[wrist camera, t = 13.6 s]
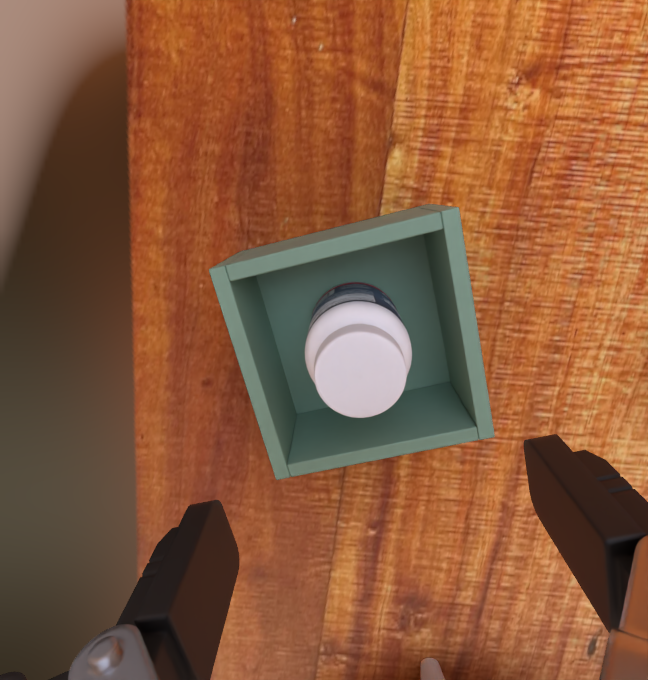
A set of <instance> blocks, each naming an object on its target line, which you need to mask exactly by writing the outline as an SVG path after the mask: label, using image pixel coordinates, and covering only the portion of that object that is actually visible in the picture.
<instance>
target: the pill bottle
mask: <svg viewBox="0 0 648 680" xmlns="http://www.w3.org/2000/svg"><path fill="white" fill-rule="evenodd" d="M305 361H306V366H307V369H308V372H309V374H310V377H311V378H312V380H313V382H314V383H315V385H316V389H317V391H318V393H319V395H320V397H321V398H322V400H323V401H324V402H325V403H326V404H327V405H328V406H329V407H330V408H331V409H333V410H334V411H336V412H338V413H340V414H342V415H345V416H349V417H355V418H365V417H371V416H374V415H378V414H380V413H382V412H384V411H386V410H387V409H389V408H390V407H391V406H392V405H394V404H395V402H396V401H397V400H398V399H399V397H400V396H401V394H402V392H403V390H404V387H405V384H406V377H407V375H408V372H409V370H410V366H411V361H412V347H411V342H410V338H409V335H408V332H407V330H406V328H405V326H404V324H403V322H402V319H401V317H400V315H399V314H398V312H397V309H396V307H395V305H394V304H393V302H392V301H391V299H390V298H389V297H388V295H387V294H386V293H384V292H383V291H382V290H381V289H379V288H378V287H376V286H374V285H371V284H368V283H364V282H346V283H342V284H339V285H337V286H335V287H333V288H331V289H330V290H328V291H327V292H326V293H325V294H324V295H323V296H322V297H321V298H320V299H319V301H318V302H317V304H316V306H315V308H314V310H313V313H312V317H311V322H310V326H309V330H308V334H307V338H306V344H305Z"/></svg>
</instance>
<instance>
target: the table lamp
mask: <svg viewBox="0 0 648 680" xmlns="http://www.w3.org/2000/svg"><path fill="white" fill-rule="evenodd" d="M421 680H445V678H444V676H443V673H442V670H441V668H440V665H439V662H438V661H437V660H436V659H434V658H425V659H423V660H422V661H421Z"/></svg>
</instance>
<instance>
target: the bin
mask: <svg viewBox="0 0 648 680" xmlns="http://www.w3.org/2000/svg"><path fill="white" fill-rule="evenodd" d="M209 273H210V276H211V279H212V282H213V285H214V288H215V291H216V294H217V297H218V301H219V304H220V307H221V310H222V313H223V316H224V319H225V322H226V325H227V328H228V332H229V335H230V338H231V341H232V344H233V347H234V350H235V353H236V356H237V360H238V363H239V366H240V369H241V372H242V375H243V378H244V381H245V384H246V388H247V391H248V394H249V397H250V400H251V403H252V406H253V409H254V412H255V416H256V419H257V422H258V425H259V428H260V431H261V434H262V437H263V440H264V443H265V447H266V450H267V453H268V456H269V459H270V462H271V465H272V468H273V471H274V475H275V478H276V480H279V479H284V478H289V477H290V476H291V477H294V476H299V475H304V474H309V473H314V472H319V471H324V470H329V469H334V468H339V467H344V466H349V465H355V464H360V463H365V462H370V461H375V460H380V459H385V458H390V457H395V456H400V455H405V454H410V453H415V452H420V451H426V450H431V449H436V448H441V447H446V446H451V445H456V444H461V443H466V442H471V441H476V440H478V439H479V440H482V439H487V438H492V437H495V435H494V428H493V422H492V415H491V409H490V403H489V396H488V390H487V384H486V377H485V371H484V364H483V358H482V352H481V345H480V339H479V333H478V326H477V320H476V314H475V307H474V301H473V294H472V288H471V282H470V275H469V269H468V263H467V256H466V250H465V243H464V237H463V231H462V224H461V218H460V212H459V208H458V207H452V206H444V205H435V204H427V205H423V206H419V207H415V208H411V209H407V210H403V211H399V212H395V213H391V214H387V215H383V216H379V217H375V218H371V219H367V220H363V221H359V222H355V223H351V224H347V225H343V226H339V227H336V228H332V229H328V230H324V231H320V232H316V233H312V234H308V235H304V236H300V237H296V238H292V239H288V240H284V241H280V242H276V243H272V244H268V245H264V246H260V247H256V248H252V249H248V250H244V251H241V252H238V253H237V254H235V255H233V256H231V257H230V258H228V259H226V260H224V261H223V262H221V263H219V264H218V265H216V266H214V267H212V268H211V269H209ZM346 282H364V283H368V284H371V285H374V286H376V287H378V288H379V289H381V290H382V291H383V292H384V293H386V294H387V295H388V297H389V298H390V299H391V301H392V302H393V304H394V305H395V307H396V309H397V312H398V314H399V315H400V317H401V319H402V322H403V324H404V326H405V328H406V330H407V332H408V335H409V338H410V342H411V347H412V361H411V366H410V370H409V372H408V375H407V377H406V384H405V387H404V390H403V392H402V394H401V396H400V397H399V399H398V400H397V401H396V402H395V404H394V405H392V406H391V407H390V408H389V409H387V410H386V411H384V412H382V413H380V414H378V415H374V416H371V417H365V418H355V417H349V416H345V415H342V414H340V413H338V412H336V411H334V410H333V409H331V408H330V407H329V406H328V405H327V404H326V403H325V402H324V401H323V400H322V398H321V397H320V395H319V393H318V391H317V389H316V385H315V383H314V382H313V380H312V378H311V377H310V374H309V372H308V369H307V366H306V361H305V344H306V338H307V334H308V330H309V326H310V322H311V317H312V313H313V310H314V308H315V306H316V304H317V302H318V301H319V299H320V298H321V297H322V296H323V295H324V294H325V293H326V292H327V291H328V290H330V289H331V288H333V287H335V286H337V285H339V284H342V283H346Z"/></svg>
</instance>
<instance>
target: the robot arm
mask: <svg viewBox="0 0 648 680" xmlns="http://www.w3.org/2000/svg"><path fill="white" fill-rule="evenodd" d="M524 453H525V460H526V468H527V475H528V483H529V490H530V496H531V500H532V503H533V506H534V509H535V511H536V513H537V515H538V517H539V519H540V521H541V522H542V524H543V526H544V527H545V529H546V531H547V532H548V534H549V536H550V537H551V539H552V540H553V542H554V544H555V545H556V547H557V549H558V550H559V552H560V553H561V555H562V557H563V558H564V560H565V562H566V563H567V565H568V567H569V568H570V570H571V571H572V573H573V575H574V576H575V578H576V580H577V581H578V583H579V584H580V586H581V588H582V589H583V591H584V593H585V594H586V596H587V598H588V599H589V601H590V602H591V604H592V606H593V607H594V609H595V611H596V612H597V614H598V616H599V617H600V619H601V620H602V622H603V624H604V625H605V627H606V629H607V630H608V632H609V633H610V635H609V638H608V642H607V647H606V651H605V656H604V660H603V665H602V669H601V674H600V678H599V680H648V502H647V501H646V500H645V499H644V498H643V497H642V496H641V495H640V494H639V493H638V492H637V491H636V490H635V489H632V486H631V485H630V484H629V483H628V482H627V481H626V480H625V479H624V478H623V477H621V476H620V474H619V473H618V472H617V471H616V470H615V469H614V468H613V467H612V466H611V465H610V464H609V463H608V462H607V461H606V460H605V459H602V458H600V457H598V456H596V455H594V454H592V453H590V452H588V451H586V450H582V451H577V452H572V450H571V449H570V448H569V447H568V446H567V445H566V444H565V443H564V442H563V440H562V439H561V438H560V437H559V436H558V435H556V434H554V435H548V436H543V437H538V438H533V439H528V440H525V441H524ZM238 570H239V552H238V547H237V544H236V541H235V538H234V536H233V533H232V530H231V528H230V525H229V522H228V519H227V517H226V514H225V511H224V509H223V506H222V504H221V502H220V501H219V500H213V501H208V502H203V503H197V504H192V505H190V506H189V507H188V508H187V510H186V512H185V514H184V516H183V518H182V520H181V522H180V524H179V527H175V528H172V529H171V530H170V531H169V532H168V533H167V534H166V535H165V536H164V537H163V539H162V540H161V541H160V542H159V543H158V544H157V546H156V548H155V550H154V552H153V554H152V556H151V558H150V560H149V563H148V564H147V566H146V567H145V569H144V571H143V573H142V575H143V576H142V577H140V579H139V581H138V583H137V585H136V587H135V589H134V591H133V593H132V595H131V597H130V599H129V601H128V603H127V605H126V607H125V609H124V610H123V613H122V614H121V616H120V618H119V621H118V622H117V624H116V626H114V627H111V628H109V629H107V630H105V631H103V632H102V633H100V634H99V635H97V636H96V637H94V638H93V639H92V640H91V641H90V642H88V643H87V645H85V646H84V647H83V649H82V650H81V651H80V652H79V654H78V655H77V656H76V658H75V659H74V661H73V663H72V665H71V668H70V670H69V671H67V672H64V673H62V674H60V675H58V676H56V677H53V678H51V679H49V680H210V677H211V674H212V670H213V666H214V662H215V658H216V655H217V651H218V647H219V643H220V639H221V635H222V632H223V628H224V624H225V620H226V616H227V613H228V609H229V605H230V601H231V597H232V594H233V590H234V586H235V582H236V578H237V575H238ZM0 680H27V679H26V677H25V675H23V674H22V673H20V672H9V673H6V674H2V675H0Z"/></svg>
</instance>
